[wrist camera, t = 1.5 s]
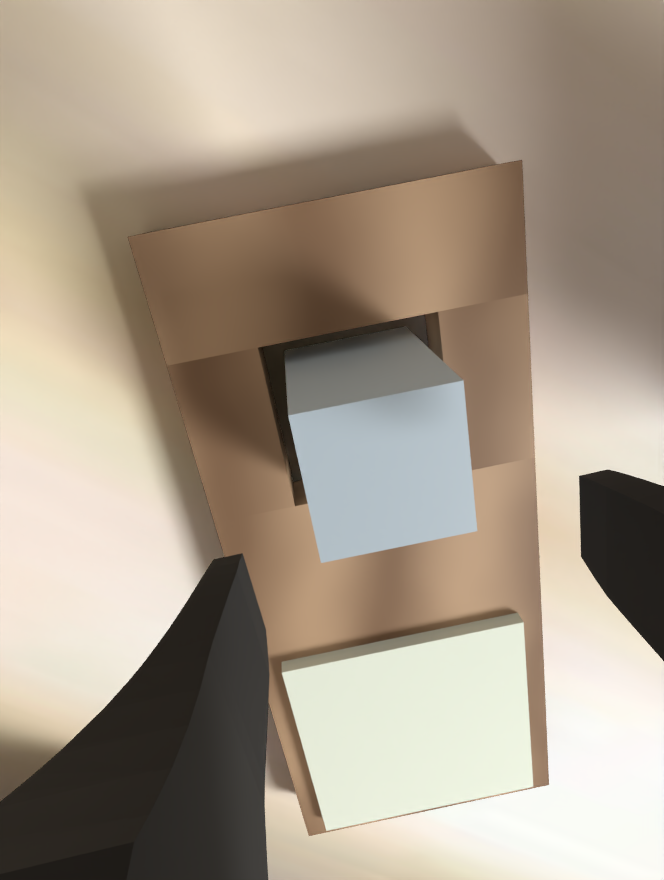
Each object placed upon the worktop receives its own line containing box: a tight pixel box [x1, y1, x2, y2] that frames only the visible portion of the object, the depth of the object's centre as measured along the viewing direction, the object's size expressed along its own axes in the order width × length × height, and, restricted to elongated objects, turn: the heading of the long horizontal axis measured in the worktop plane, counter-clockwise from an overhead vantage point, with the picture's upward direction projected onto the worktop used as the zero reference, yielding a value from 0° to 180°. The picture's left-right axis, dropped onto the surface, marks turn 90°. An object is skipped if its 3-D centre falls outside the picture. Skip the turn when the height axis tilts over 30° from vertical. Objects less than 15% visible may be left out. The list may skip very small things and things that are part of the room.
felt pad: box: [282, 613, 533, 831], centre depth 25 cm, size 10×10×1 cm
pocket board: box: [128, 160, 549, 836], centre depth 23 cm, size 12×28×2 cm, turn 10°
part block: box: [284, 326, 477, 563], centre depth 18 cm, size 4×4×7 cm
